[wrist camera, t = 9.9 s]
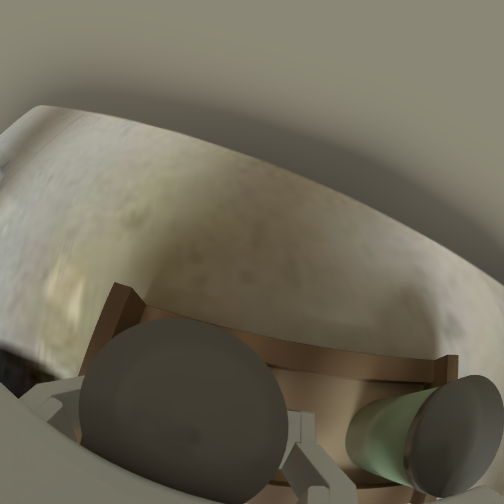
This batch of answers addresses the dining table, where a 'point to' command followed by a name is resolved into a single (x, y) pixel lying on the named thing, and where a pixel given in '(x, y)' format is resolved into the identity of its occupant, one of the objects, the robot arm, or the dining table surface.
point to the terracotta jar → (186, 409)
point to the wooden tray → (306, 390)
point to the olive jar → (430, 436)
